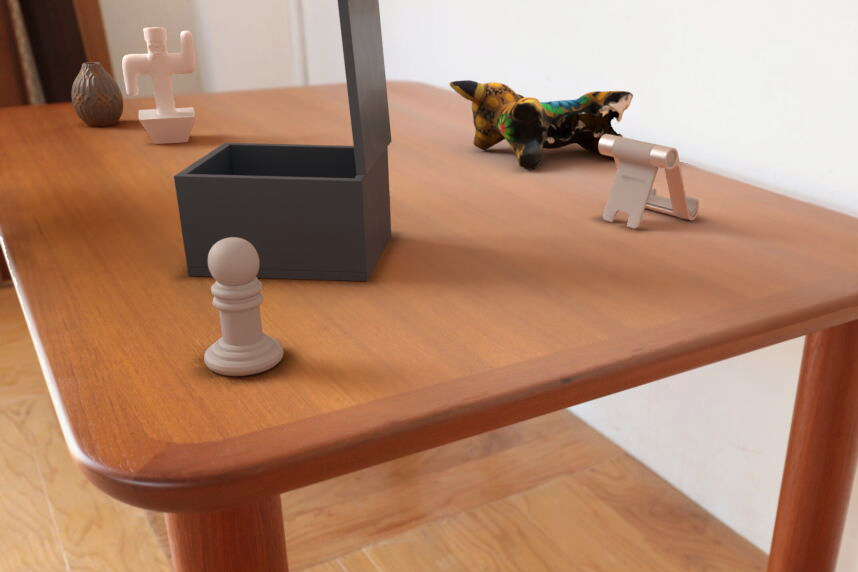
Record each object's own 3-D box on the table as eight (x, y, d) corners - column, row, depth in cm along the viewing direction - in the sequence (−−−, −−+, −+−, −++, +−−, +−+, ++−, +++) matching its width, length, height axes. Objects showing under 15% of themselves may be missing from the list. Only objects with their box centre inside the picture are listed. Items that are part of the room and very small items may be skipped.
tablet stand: (697, 219, 95) (706, 140, 91) (652, 234, 90) (659, 151, 86) (633, 202, 100) (639, 126, 97) (587, 215, 95) (591, 136, 92)
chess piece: (296, 366, 62) (284, 242, 58) (220, 385, 59) (202, 257, 55) (267, 339, 66) (254, 221, 62) (194, 356, 63) (176, 234, 59)
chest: (188, 276, 77) (173, 175, 74) (235, 231, 89) (224, 142, 85) (367, 281, 77) (361, 180, 73) (391, 235, 88) (387, 146, 84)
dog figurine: (625, 189, 120) (549, 151, 133) (652, 97, 116) (570, 67, 129) (505, 178, 109) (434, 138, 121) (529, 75, 104) (453, 45, 117)
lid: (332, -44, 66) (457, -48, 66) (365, -48, 77) (472, -52, 77) (356, 175, 73) (470, 172, 72) (383, 141, 84) (481, 139, 84)
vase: (102, 130, 130) (91, 67, 126) (66, 126, 132) (54, 64, 128) (136, 121, 136) (127, 61, 132) (101, 117, 138) (90, 58, 134)
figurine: (134, 136, 127) (116, 24, 120) (204, 132, 130) (190, 23, 123) (134, 147, 120) (114, 30, 114) (207, 143, 123) (192, 28, 117)
